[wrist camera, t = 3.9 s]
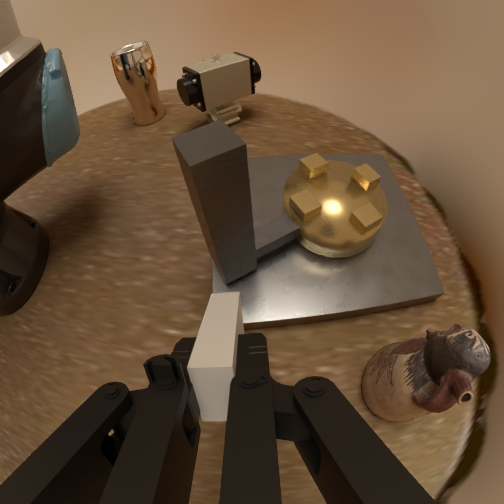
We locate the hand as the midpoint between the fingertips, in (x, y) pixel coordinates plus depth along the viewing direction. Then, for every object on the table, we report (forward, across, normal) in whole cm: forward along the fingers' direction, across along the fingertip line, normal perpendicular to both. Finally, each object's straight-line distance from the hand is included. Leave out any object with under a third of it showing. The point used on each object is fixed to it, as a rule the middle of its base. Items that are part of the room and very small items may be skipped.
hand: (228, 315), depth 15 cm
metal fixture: (+12, +6, +2) cm, 14 cm away
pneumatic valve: (+32, -1, +18) cm, 36 cm away
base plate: (+15, +9, +2) cm, 18 cm away
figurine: (+3, +13, -11) cm, 17 cm away
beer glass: (+36, -15, +22) cm, 45 cm away
